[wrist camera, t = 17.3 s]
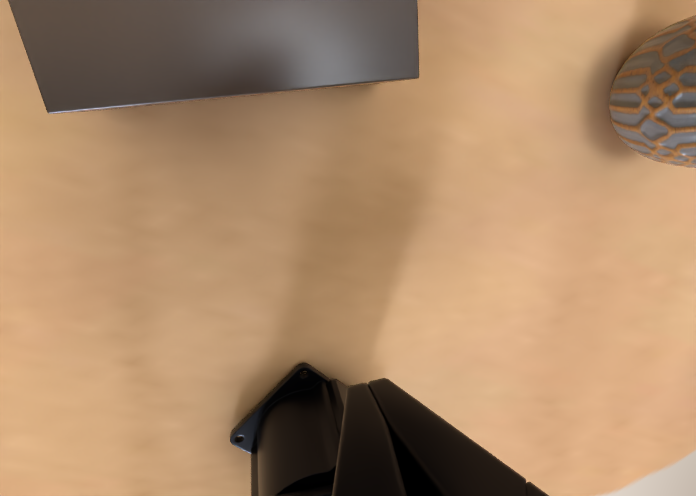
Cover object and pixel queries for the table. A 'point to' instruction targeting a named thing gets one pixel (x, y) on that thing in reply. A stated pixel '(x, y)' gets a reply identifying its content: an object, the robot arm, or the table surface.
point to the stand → (210, 48)
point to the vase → (659, 96)
